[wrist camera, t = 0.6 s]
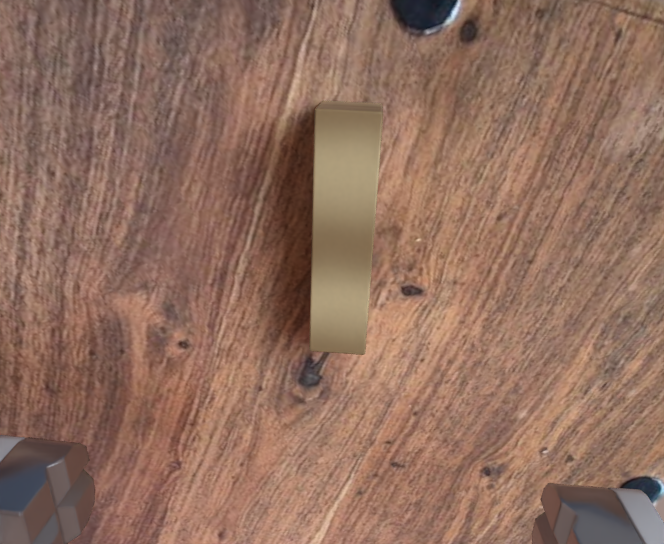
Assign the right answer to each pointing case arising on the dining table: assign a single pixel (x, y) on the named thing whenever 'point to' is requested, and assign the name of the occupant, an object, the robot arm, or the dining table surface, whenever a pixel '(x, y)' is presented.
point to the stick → (343, 223)
